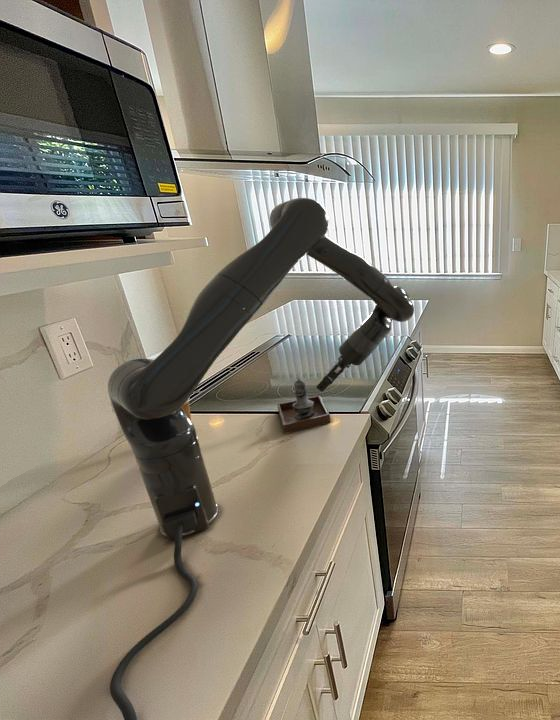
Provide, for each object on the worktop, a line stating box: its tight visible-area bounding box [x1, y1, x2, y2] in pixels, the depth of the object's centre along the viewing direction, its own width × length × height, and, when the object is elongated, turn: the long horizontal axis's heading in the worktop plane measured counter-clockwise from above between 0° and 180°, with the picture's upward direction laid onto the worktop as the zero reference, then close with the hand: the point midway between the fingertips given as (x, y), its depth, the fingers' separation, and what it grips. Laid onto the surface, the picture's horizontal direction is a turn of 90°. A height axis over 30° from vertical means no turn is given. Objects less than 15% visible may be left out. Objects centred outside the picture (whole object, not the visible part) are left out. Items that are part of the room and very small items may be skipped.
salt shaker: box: [292, 377, 314, 419], centre depth 116 cm, size 6×6×12 cm
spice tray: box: [276, 394, 331, 434], centre depth 117 cm, size 15×12×3 cm
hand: (324, 383), depth 114 cm, fingers open, 8 cm apart
